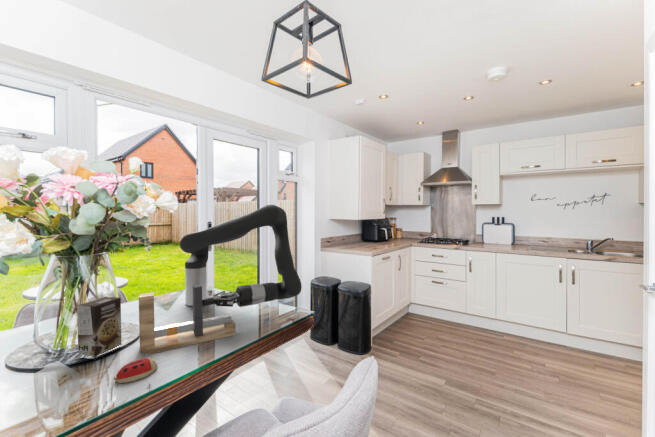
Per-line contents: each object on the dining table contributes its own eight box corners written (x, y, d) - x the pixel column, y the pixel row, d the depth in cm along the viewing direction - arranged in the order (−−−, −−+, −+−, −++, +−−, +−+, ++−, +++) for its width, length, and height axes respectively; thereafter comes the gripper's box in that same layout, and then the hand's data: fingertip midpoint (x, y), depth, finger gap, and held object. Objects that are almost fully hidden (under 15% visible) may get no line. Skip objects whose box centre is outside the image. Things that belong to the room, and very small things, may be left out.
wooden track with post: (140, 344, 96) (139, 292, 95) (230, 325, 111) (230, 280, 111) (139, 356, 88) (138, 299, 88) (237, 334, 104) (236, 286, 103)
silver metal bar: (147, 337, 94) (147, 329, 94) (230, 320, 108) (229, 313, 108) (147, 340, 92) (147, 331, 92) (231, 322, 106) (231, 315, 106)
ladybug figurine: (162, 371, 80) (161, 358, 80) (120, 389, 72) (120, 375, 72) (150, 364, 84) (150, 351, 84) (109, 380, 76) (109, 367, 76)
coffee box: (95, 361, 86) (93, 306, 85) (77, 358, 87) (75, 304, 86) (122, 346, 94) (121, 297, 94) (106, 344, 96) (105, 296, 95)
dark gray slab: (193, 330, 102) (192, 284, 102) (200, 329, 104) (199, 283, 103) (195, 335, 98) (194, 287, 98) (202, 334, 100) (202, 286, 99)
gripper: (245, 281, 116) (198, 287, 107) (256, 288, 105) (204, 296, 96) (245, 300, 116) (198, 307, 107) (256, 309, 105) (204, 319, 96)
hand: (201, 302), depth 101 cm, fingers closed
